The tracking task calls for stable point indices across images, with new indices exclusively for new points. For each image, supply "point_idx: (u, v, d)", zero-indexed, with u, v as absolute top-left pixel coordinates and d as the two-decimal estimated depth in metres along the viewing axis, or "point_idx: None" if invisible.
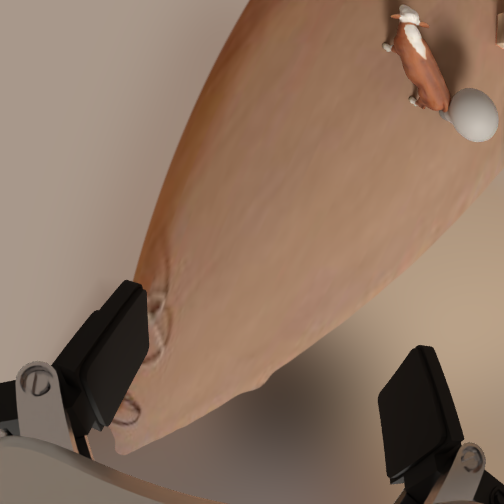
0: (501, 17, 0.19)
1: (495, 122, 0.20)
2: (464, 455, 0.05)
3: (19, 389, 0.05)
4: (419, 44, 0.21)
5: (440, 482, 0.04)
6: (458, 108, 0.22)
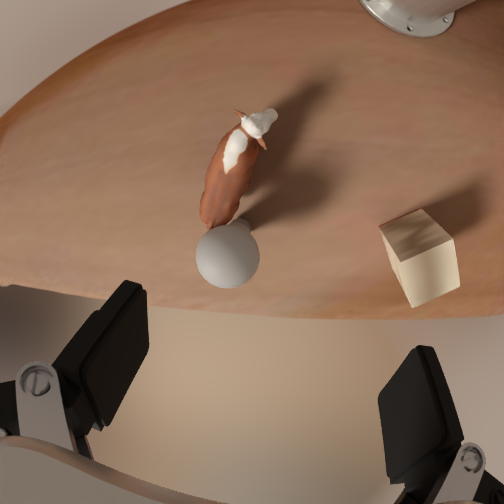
0: (419, 214, 0.31)
1: (228, 282, 0.27)
2: (464, 455, 0.05)
3: (19, 389, 0.05)
4: (231, 156, 0.25)
5: (440, 482, 0.04)
6: (205, 238, 0.27)
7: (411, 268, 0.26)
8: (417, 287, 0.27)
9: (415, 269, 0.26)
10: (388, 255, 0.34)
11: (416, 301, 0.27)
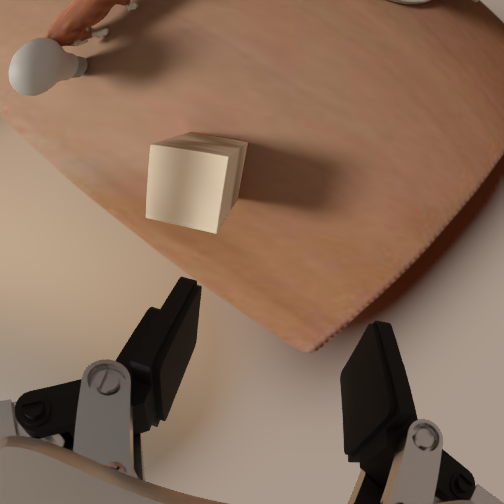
0: (237, 141, 0.27)
1: (15, 80, 0.16)
2: (416, 434, 0.06)
3: (88, 389, 0.05)
4: None
5: (396, 469, 0.05)
6: (31, 40, 0.16)
7: (160, 161, 0.21)
8: (158, 192, 0.22)
9: (164, 165, 0.21)
10: None
11: (152, 211, 0.23)
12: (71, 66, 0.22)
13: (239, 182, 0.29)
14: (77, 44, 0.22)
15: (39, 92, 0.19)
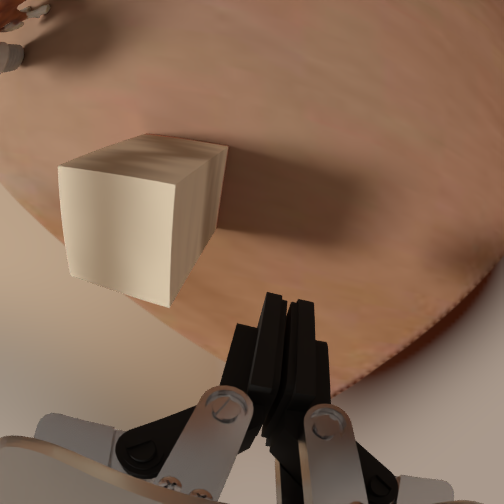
0: (210, 146, 0.17)
1: None
2: (315, 424, 0.06)
3: (211, 421, 0.06)
4: None
5: (305, 470, 0.05)
6: None
7: (73, 192, 0.11)
8: (78, 241, 0.13)
9: (79, 200, 0.12)
10: None
11: (77, 268, 0.13)
12: None
13: (216, 207, 0.19)
14: (9, 29, 0.12)
15: None
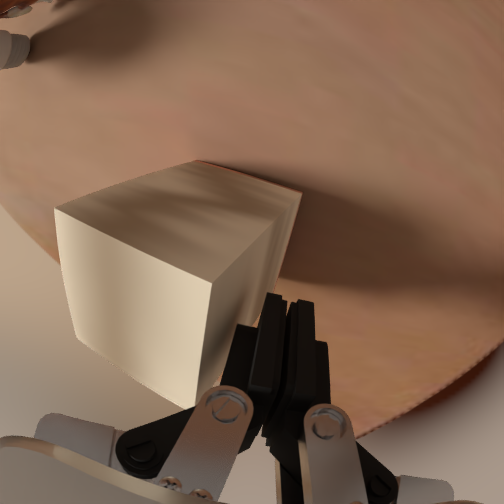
0: (278, 192, 0.13)
1: None
2: (315, 424, 0.06)
3: (211, 421, 0.06)
4: None
5: (305, 470, 0.05)
6: None
7: (73, 249, 0.08)
8: (83, 308, 0.10)
9: (80, 261, 0.08)
10: None
11: (83, 334, 0.10)
12: None
13: (277, 270, 0.15)
14: (13, 15, 0.09)
15: None
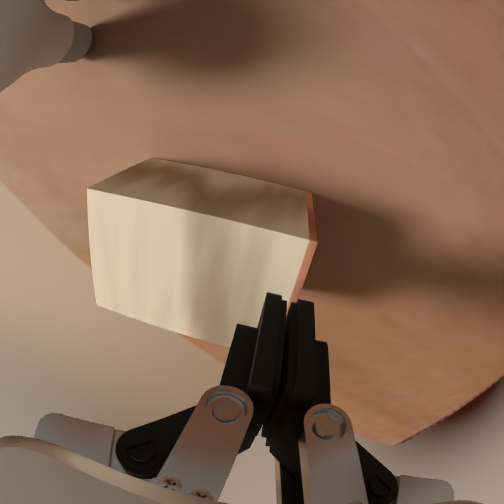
0: (280, 222, 0.11)
1: None
2: (315, 424, 0.06)
3: (211, 421, 0.06)
4: None
5: (305, 470, 0.05)
6: None
7: None
8: None
9: None
10: None
11: None
12: (59, 37, 0.09)
13: None
14: None
15: None
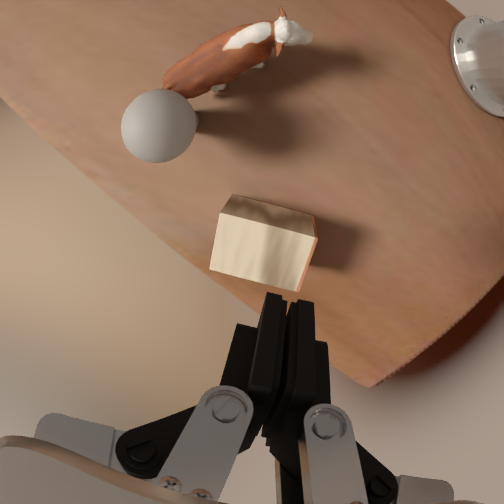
0: (303, 230, 0.27)
1: (140, 145, 0.20)
2: (315, 424, 0.06)
3: (211, 420, 0.06)
4: (241, 38, 0.18)
5: (305, 470, 0.05)
6: (154, 91, 0.19)
7: None
8: None
9: None
10: None
11: None
12: None
13: (294, 272, 0.28)
14: (193, 97, 0.25)
15: (165, 161, 0.23)
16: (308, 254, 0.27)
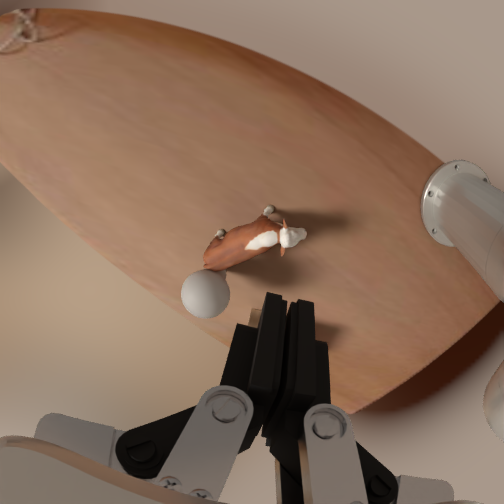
0: None
1: (198, 315, 0.35)
2: (315, 424, 0.06)
3: (211, 421, 0.06)
4: (257, 244, 0.34)
5: (305, 470, 0.05)
6: (201, 279, 0.35)
7: None
8: None
9: None
10: None
11: None
12: None
13: None
14: None
15: None
16: None
